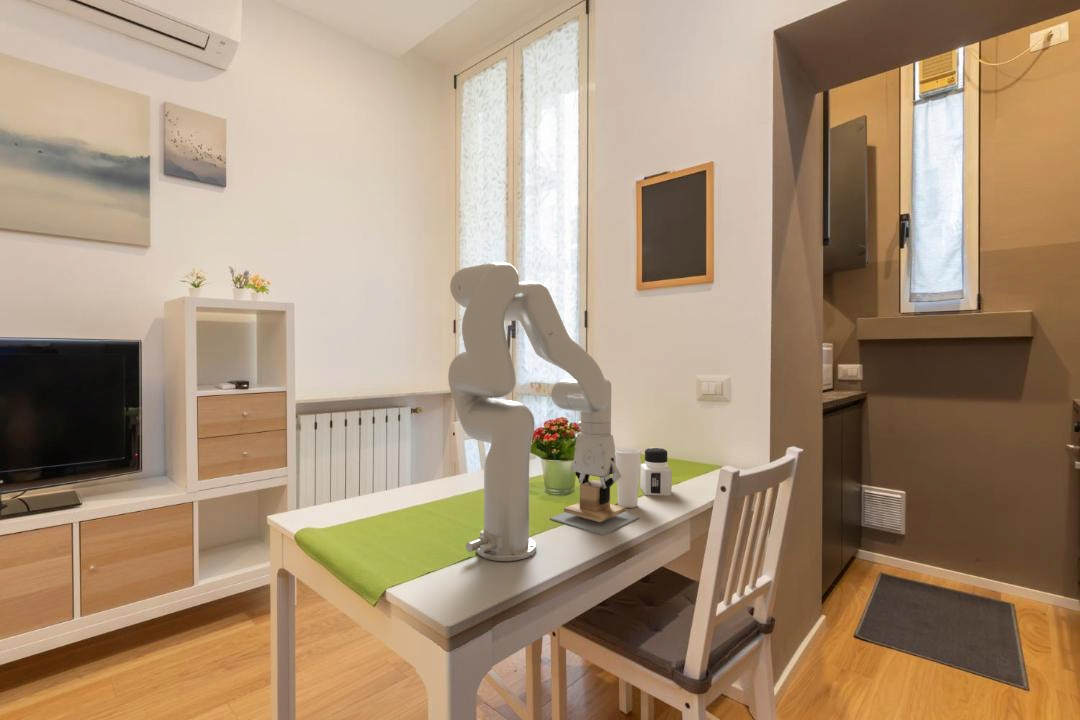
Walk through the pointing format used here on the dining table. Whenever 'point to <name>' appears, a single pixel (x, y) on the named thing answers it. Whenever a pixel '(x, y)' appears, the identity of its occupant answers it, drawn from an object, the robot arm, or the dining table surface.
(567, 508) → the lid
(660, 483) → the container
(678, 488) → the dining table surface
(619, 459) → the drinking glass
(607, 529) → the mat
